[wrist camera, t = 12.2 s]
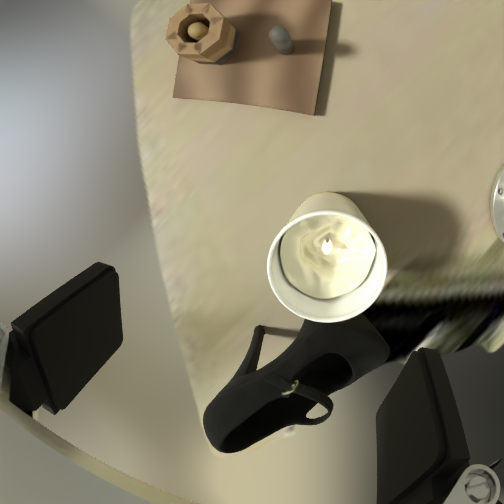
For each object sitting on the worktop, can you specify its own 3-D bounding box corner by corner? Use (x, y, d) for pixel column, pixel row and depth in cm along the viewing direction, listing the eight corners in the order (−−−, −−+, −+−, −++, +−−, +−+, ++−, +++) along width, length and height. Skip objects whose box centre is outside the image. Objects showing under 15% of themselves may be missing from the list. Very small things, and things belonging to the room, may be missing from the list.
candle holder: (351, 171, 33) (363, 191, 22) (381, 249, 35) (401, 301, 24) (271, 205, 36) (246, 239, 25) (306, 278, 39) (295, 336, 28)
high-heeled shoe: (384, 334, 39) (402, 460, 21) (251, 352, 45) (206, 466, 27) (379, 283, 37) (407, 408, 19) (234, 306, 43) (173, 419, 24)
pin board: (331, 3, 26) (331, -24, 20) (313, 115, 32) (310, 111, 25) (196, -5, 28) (170, -27, 22) (177, 98, 34) (146, 93, 27)
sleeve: (242, 21, 28) (226, 2, 22) (234, 66, 30) (216, 55, 25) (195, 20, 29) (172, 4, 23) (187, 63, 31) (162, 54, 26)
